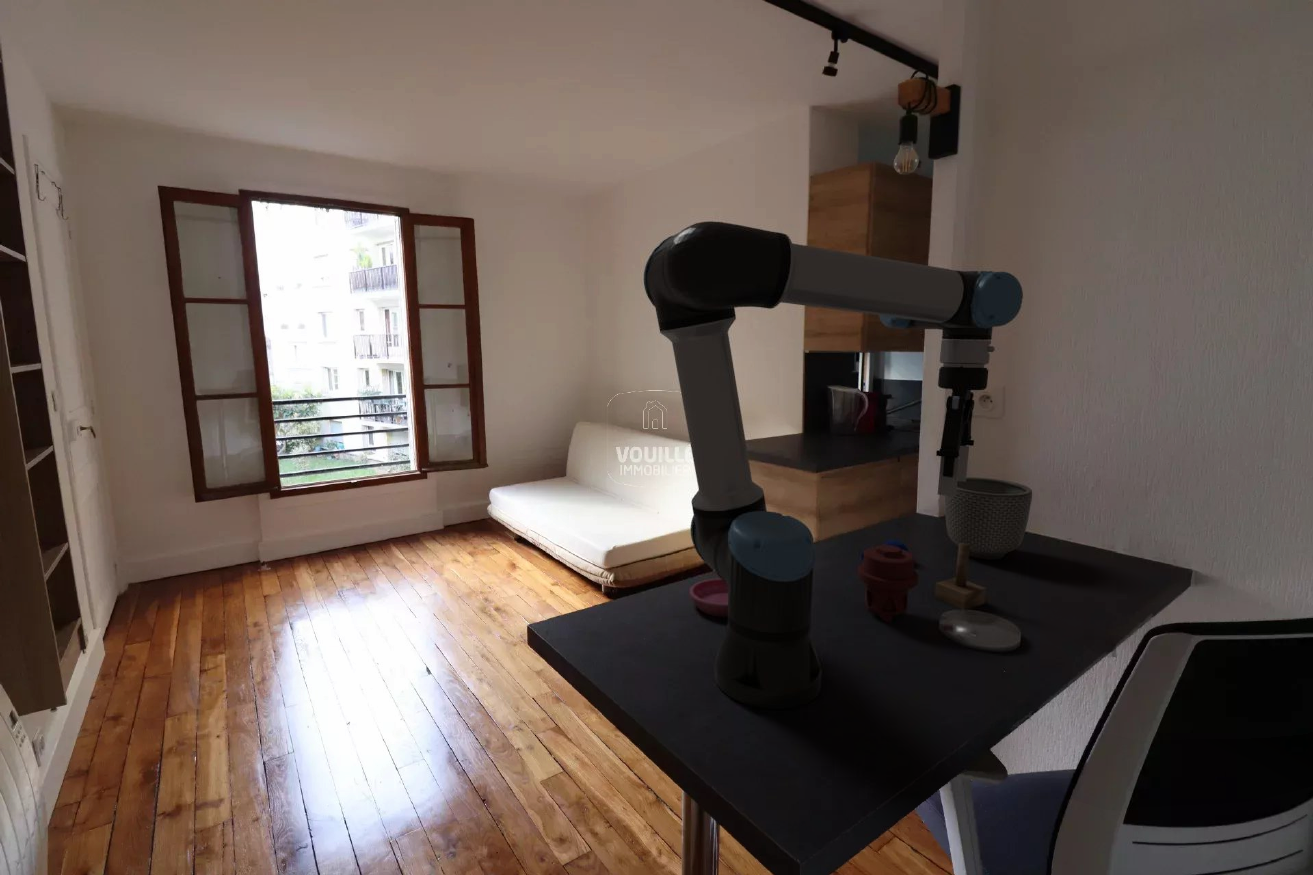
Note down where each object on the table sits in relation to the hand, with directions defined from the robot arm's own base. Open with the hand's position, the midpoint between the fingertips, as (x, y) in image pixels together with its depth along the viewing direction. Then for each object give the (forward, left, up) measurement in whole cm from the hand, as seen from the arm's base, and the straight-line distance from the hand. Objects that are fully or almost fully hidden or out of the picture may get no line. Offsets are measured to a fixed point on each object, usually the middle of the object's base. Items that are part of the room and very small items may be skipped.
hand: (952, 487), depth 107 cm
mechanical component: (-11, +1, -23) cm, 26 cm away
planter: (+29, +24, -23) cm, 44 cm away
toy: (+3, +22, -23) cm, 32 cm away
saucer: (-38, +11, -23) cm, 46 cm away
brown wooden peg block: (+6, +3, -23) cm, 24 cm away
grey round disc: (0, -9, -23) cm, 25 cm away
